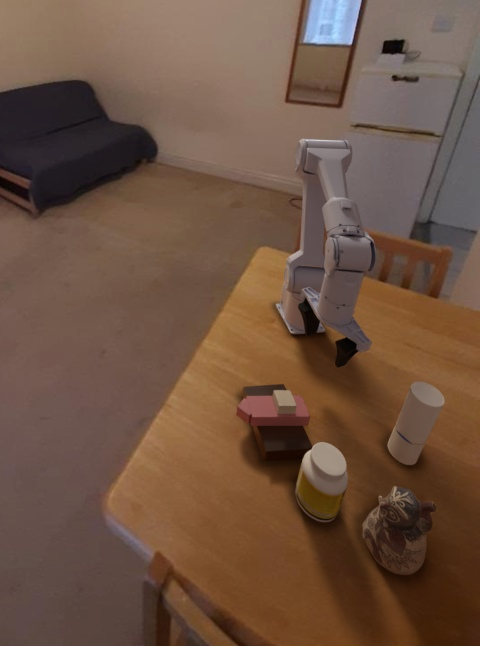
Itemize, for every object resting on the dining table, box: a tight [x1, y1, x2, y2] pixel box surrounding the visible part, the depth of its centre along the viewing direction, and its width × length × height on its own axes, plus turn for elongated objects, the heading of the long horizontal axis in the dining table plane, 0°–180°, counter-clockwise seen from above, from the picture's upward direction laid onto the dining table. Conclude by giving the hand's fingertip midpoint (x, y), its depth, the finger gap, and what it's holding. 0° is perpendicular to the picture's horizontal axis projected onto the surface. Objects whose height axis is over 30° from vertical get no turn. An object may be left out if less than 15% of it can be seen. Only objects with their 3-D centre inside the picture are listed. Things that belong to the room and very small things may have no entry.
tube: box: [387, 380, 445, 466], centre depth 66 cm, size 4×4×15 cm
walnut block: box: [241, 383, 313, 463], centre depth 73 cm, size 12×8×3 cm, turn 3°
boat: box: [236, 389, 311, 427], centre depth 72 cm, size 12×4×5 cm, turn 89°
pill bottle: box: [294, 441, 349, 523], centre depth 61 cm, size 6×6×11 cm
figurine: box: [362, 485, 438, 576], centre depth 55 cm, size 7×7×12 cm
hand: (324, 349), depth 77 cm, fingers open, 7 cm apart
